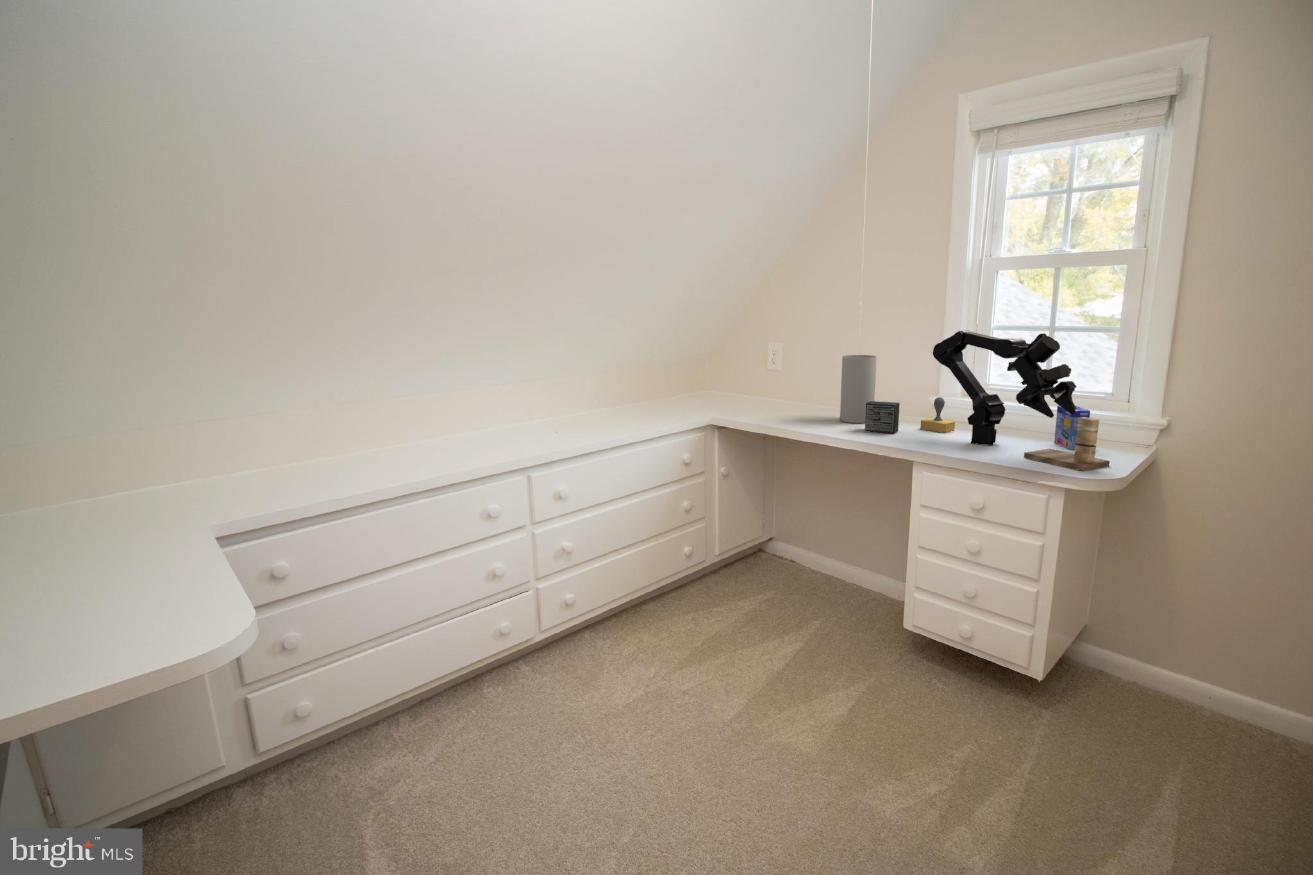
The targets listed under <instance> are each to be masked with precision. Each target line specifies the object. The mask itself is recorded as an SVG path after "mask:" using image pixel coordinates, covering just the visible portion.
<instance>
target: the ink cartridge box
mask: <svg viewBox="0 0 1313 875" xmlns="http://www.w3.org/2000/svg"><path fill="white" fill-rule="evenodd" d="M1073 404H1074V407H1075V411H1076V413H1075V414H1074V415H1072V414H1070V413H1069V412H1067V411H1066V410H1065V409H1063V408H1062V407H1061V406H1059V405H1057V406H1056V420H1055V429H1054V430H1055V431H1054V444H1056V445H1059V446H1061V447H1063V448H1066V449H1067V450H1075V446H1076V445H1075V444H1077V443H1076V437H1077V427H1078V420H1079V418H1082V417H1087V418H1091V410H1089V409H1086V408H1084V407H1080V406H1077V405H1075V403H1074V402H1073Z"/></svg>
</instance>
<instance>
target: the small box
mask: <svg viewBox="0 0 1313 875" xmlns="http://www.w3.org/2000/svg"><path fill="white" fill-rule="evenodd" d="M899 418H900V402H894V401H891V402H890V401H870V402H867V403H866V418H865V423H864V424H865V425H864V432H865V431H870V432H869V433H878V434H890V433H891V434H893V435H894V434H896V433H898V432H899V425H900V424H899V422H900V420H899Z"/></svg>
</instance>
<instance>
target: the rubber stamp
mask: <svg viewBox="0 0 1313 875" xmlns="http://www.w3.org/2000/svg"><path fill="white" fill-rule="evenodd" d="M945 404H946V401H945V399H944V398H943V397H941V396H940V397H939V396H938V397H935V399H934V402H933V405H934V406H933V407H934V409H935V414H936V415H935V417H927V418H922V419H921V420H920V428H919V429H920V430H922V429H924V431H928V430H929V432H934V431H937V432H936V433H940V432H942V434H948V432H950V433H952V432H951V431H954V432H955V426H956V422H955V421H954V420H949V419H942V417H941V414H942V411H943V409H944V407H945Z"/></svg>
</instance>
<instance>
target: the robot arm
mask: <svg viewBox="0 0 1313 875" xmlns="http://www.w3.org/2000/svg"><path fill="white" fill-rule="evenodd" d="M967 346H972V347H976V348H980V349H984V350H988V351H991V352H993V353H994V355H995V356H998V357H1000V358H1002V359H1007V360H1008V359H1014V360H1013V361H1009V362H1008V366H1007V368H1006V371H1007V372H1014V371H1015V372H1017V374H1018V375H1019V377H1020V378H1021V379H1022V381H1021V382H1020V383H1021V385H1022V386H1024V387H1023V388H1022V389H1021V390H1020V391H1018V393H1016V395H1015V400H1016V401H1017V403H1018V404H1019V405H1023V406H1026V407H1029V408H1030V409H1033V410H1035V411H1037V412H1038V413H1040V414H1042V415H1044V416H1046V417H1048V418H1051V419H1052V418H1053V417H1055V414H1054V412H1053V410H1052V408H1051V407H1050V406H1049V404H1048V402H1047V401H1046V399H1045V396H1049V397H1050V398H1051V399H1053V402H1054V403H1055V404H1056V405H1057V406H1061V407H1062V408H1063V409H1065V410H1066V411H1067V412H1069V413H1070V414H1072V415H1074V414H1075V413H1076V411H1075V407H1074V405H1075V403H1074V401H1073V396H1072V395H1073V393H1074V392H1075V390H1076V388H1077V385H1076V384H1075V382H1074V381H1071V380H1065V381H1060V382H1059V380H1062V379H1065V378H1069V377H1070V376H1071V373H1072V368H1070V366H1069V365H1068V364H1066V363H1062V364H1061V365H1057V366H1054V367H1052V368H1049V369H1046V368H1042V367H1041V366H1040V364H1039V363H1041V364H1042V363H1043V364H1045V363H1046V362H1047V361H1048V360H1049V359H1050V358H1051V357H1053V355H1055V354H1056V353H1057V352H1058V351H1060V349H1061V345H1060V343H1059V342H1058V340H1055V339H1054V338H1053V337H1051V336H1048V335H1047V333H1043V332H1042V333H1039V334H1038V335H1036V338H1034V339H1033V340H1032V341H1031V342H1030V343H1028V342H1027V341H1026V339H1023V338H999V337H995V336H990V335H987V334H983V333H977V332H974V331H971V330H959V331H957V332H955V333H954V334H952V335H950V336H948V337H947V338H945V339H943V340H942V341H941V342H938V343H936V344H935V345H934V346H933V349H932V356H933V358H934V359H935V360H936V361H937V362H938V363H939V364H941V365H942V366H944V367H946V368H947V369H949V371H950V372H951V373H952V375H953V376H954V377H955V379H956V380H957V383H959V384H960V386H961V387H962V389H963V390H964V392H965V393H966V394H967V396H968V397H969V398H970V400H971V403H972V405H971V406H972V411H973V412H972V413H971V414H970V415H969V416H968V417H967V423H968V425H970V426H972V427H971V430H972V431H971V439H970V444H972V445H982V446H994V444H996V442H997V432H998V430H997V428H996V425H1000V423H1001V421H1002V420H1003V418H1004V416H1005V413H1006V407H1005V406H1004V404H1005V402H1003V401H1002V400H1001V398H1000V397H999V395H998V394H997V393H995V394H989V393H988V392H987V391H986V389H985V388H984V387H983V385H981V383H980V381H979V380H978V379H977V377H976V376H975V375H974V374H973V372H972V371H971V369H970V368H969V367H968V365H967V364H966V363H965V361H964V352H963V351H964V350H965V349H967ZM1055 385H1056V386H1055ZM1073 403H1074V404H1073Z"/></svg>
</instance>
